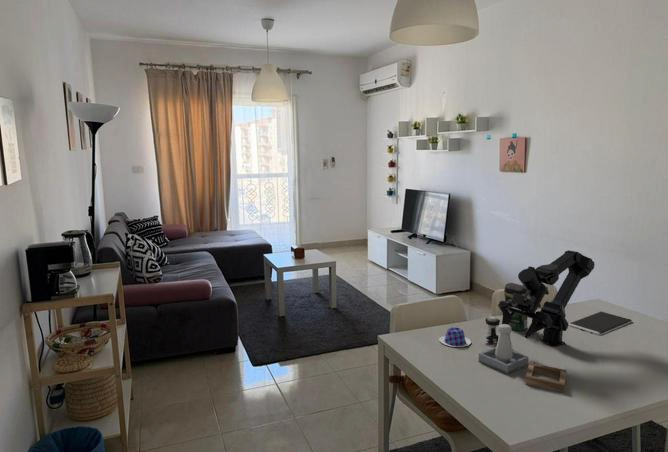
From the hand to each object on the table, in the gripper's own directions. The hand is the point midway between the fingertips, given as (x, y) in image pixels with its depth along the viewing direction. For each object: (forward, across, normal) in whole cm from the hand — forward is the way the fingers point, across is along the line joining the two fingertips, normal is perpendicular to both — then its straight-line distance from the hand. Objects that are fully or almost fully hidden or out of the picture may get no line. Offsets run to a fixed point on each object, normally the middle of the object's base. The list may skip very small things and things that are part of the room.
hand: (513, 333), depth 161 cm
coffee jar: (-12, -18, +27) cm, 34 cm away
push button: (+3, -14, +11) cm, 18 cm away
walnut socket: (+10, +16, +3) cm, 19 cm away
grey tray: (+11, 0, +3) cm, 11 cm away
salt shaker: (+10, 0, +3) cm, 10 cm away
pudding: (+10, -22, +4) cm, 25 cm away
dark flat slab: (-35, +1, +50) cm, 61 cm away
